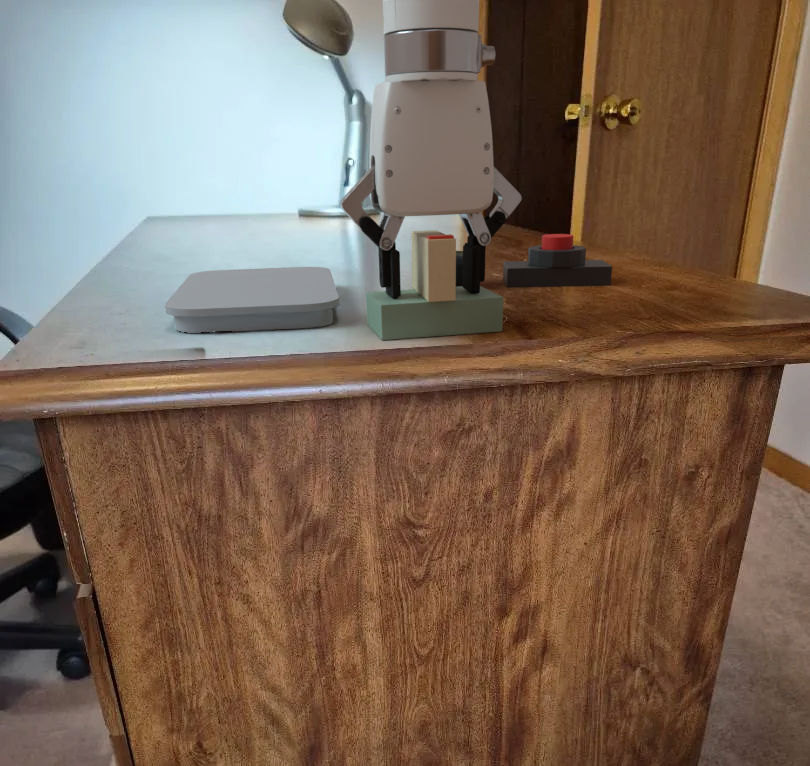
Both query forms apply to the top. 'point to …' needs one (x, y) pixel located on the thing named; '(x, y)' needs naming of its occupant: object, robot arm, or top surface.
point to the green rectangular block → (433, 314)
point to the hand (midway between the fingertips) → (432, 291)
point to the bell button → (557, 241)
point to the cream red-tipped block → (434, 265)
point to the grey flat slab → (254, 300)
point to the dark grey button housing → (556, 269)
